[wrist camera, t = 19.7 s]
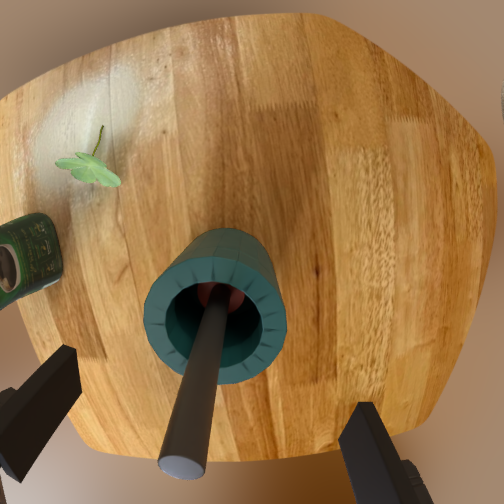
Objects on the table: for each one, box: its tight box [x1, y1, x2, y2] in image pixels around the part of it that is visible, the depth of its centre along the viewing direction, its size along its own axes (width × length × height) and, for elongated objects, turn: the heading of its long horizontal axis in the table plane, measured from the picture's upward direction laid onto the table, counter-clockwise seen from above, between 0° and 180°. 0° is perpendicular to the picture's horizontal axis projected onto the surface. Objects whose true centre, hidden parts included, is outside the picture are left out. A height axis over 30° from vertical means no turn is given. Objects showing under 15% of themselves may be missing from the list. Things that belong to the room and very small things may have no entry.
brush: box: [158, 281, 245, 480], centre depth 20 cm, size 4×4×24 cm
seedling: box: [55, 125, 121, 187], centre depth 28 cm, size 7×8×6 cm
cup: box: [143, 228, 287, 385], centre depth 27 cm, size 10×10×13 cm
